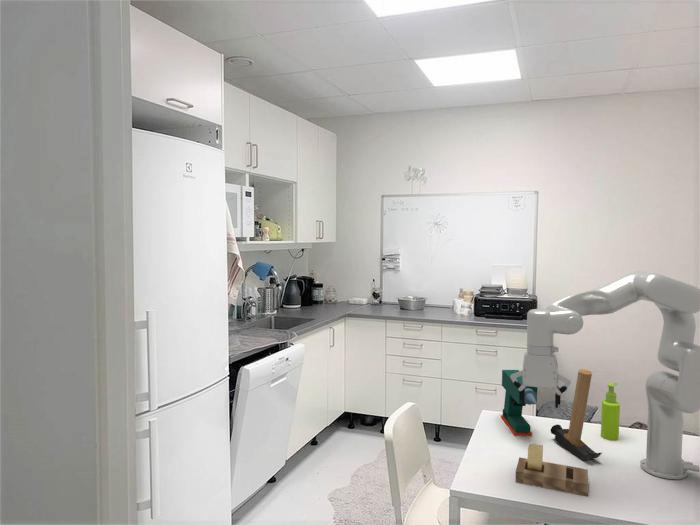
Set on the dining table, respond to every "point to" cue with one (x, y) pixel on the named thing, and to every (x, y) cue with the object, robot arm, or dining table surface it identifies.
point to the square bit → (535, 457)
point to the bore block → (554, 477)
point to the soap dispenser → (610, 415)
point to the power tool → (516, 404)
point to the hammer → (576, 421)
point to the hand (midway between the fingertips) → (539, 404)
